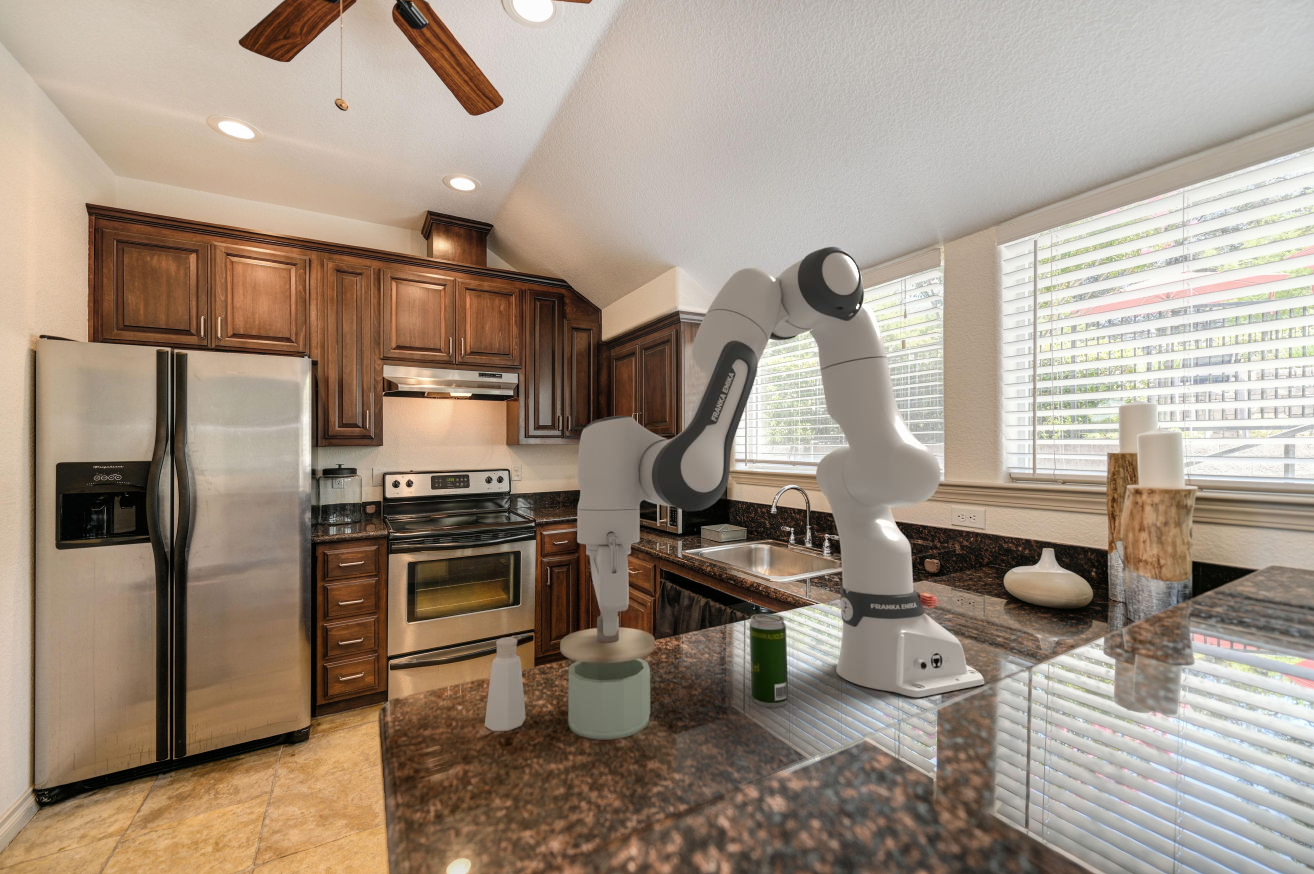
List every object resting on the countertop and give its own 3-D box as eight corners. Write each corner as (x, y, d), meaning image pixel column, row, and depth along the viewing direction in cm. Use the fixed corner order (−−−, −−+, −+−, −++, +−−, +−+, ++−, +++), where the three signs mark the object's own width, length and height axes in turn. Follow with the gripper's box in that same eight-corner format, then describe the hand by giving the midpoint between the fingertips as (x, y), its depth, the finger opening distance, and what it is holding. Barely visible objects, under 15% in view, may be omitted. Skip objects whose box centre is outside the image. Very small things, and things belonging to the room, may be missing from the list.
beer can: (796, 701, 77) (793, 618, 78) (772, 711, 74) (770, 624, 75) (767, 690, 81) (764, 611, 82) (743, 700, 78) (741, 617, 79)
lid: (647, 632, 80) (647, 605, 80) (662, 659, 67) (661, 627, 67) (561, 636, 78) (561, 608, 78) (559, 665, 65) (559, 632, 65)
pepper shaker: (509, 734, 68) (510, 647, 69) (475, 727, 70) (477, 642, 71) (533, 717, 73) (534, 636, 74) (501, 711, 75) (503, 632, 76)
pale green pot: (643, 700, 78) (642, 652, 78) (655, 735, 67) (654, 678, 68) (568, 706, 76) (568, 657, 77) (568, 743, 65) (568, 685, 66)
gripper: (640, 535, 64) (640, 651, 63) (623, 524, 84) (623, 612, 83) (588, 536, 63) (588, 654, 62) (584, 524, 83) (583, 613, 82)
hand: (608, 630), depth 73 cm, fingers closed on lid, 3 cm apart
